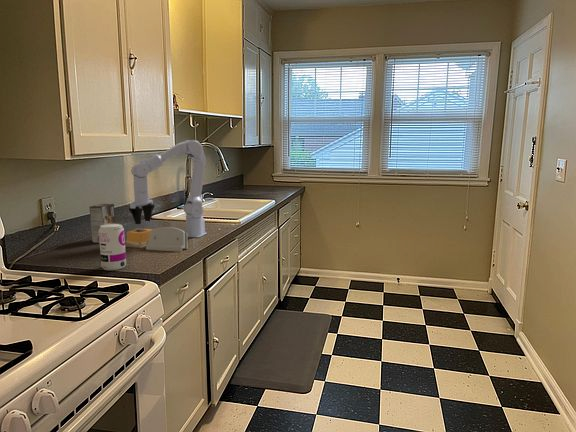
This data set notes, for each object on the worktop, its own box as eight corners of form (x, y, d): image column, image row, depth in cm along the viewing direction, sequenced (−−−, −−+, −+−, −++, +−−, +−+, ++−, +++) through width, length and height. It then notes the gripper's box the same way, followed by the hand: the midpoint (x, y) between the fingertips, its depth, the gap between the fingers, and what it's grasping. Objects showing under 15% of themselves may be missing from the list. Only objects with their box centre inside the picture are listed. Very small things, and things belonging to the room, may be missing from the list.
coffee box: (104, 238, 202) (101, 203, 199) (117, 238, 201) (114, 203, 198) (91, 242, 193) (89, 206, 191) (105, 243, 192) (102, 206, 189)
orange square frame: (138, 237, 196) (137, 228, 195) (154, 238, 194) (153, 229, 193) (127, 241, 188) (126, 232, 188) (143, 242, 186) (143, 233, 186)
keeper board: (138, 239, 199) (138, 226, 197) (158, 240, 196) (158, 226, 195) (120, 246, 185) (119, 232, 184) (141, 247, 183) (140, 233, 182)
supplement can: (129, 264, 158) (126, 223, 156) (121, 270, 150) (118, 227, 148) (106, 264, 158) (103, 223, 156) (97, 271, 150) (94, 227, 148)
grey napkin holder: (145, 249, 180) (148, 225, 182) (151, 250, 185) (154, 227, 186) (182, 251, 176) (185, 227, 178) (187, 252, 181) (190, 228, 182)
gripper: (142, 189, 198) (144, 219, 200) (122, 193, 184) (125, 225, 186) (156, 189, 196) (157, 219, 198) (137, 193, 182) (139, 225, 185)
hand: (142, 222), depth 192 cm, fingers open, 7 cm apart
